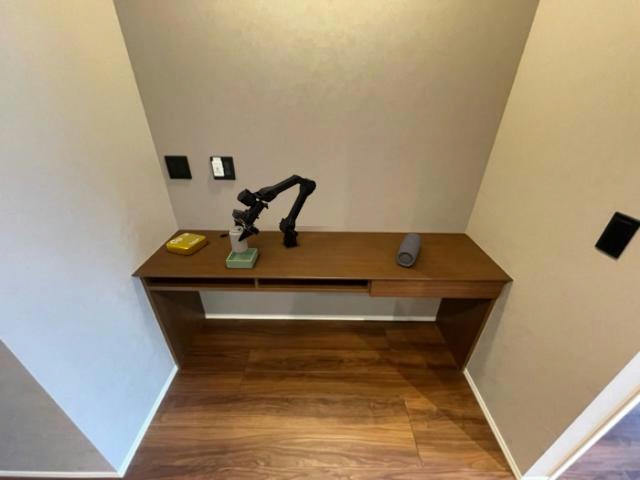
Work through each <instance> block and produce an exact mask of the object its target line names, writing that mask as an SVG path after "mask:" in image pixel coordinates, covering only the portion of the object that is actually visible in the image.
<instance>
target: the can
mask: <svg viewBox="0 0 640 480" xmlns="http://www.w3.org/2000/svg"><path fill="white" fill-rule="evenodd" d="M242 232H243V227H242V226H235V227H234V226H232V227H231V228H229V232H228V234H229V239H230V245H231V251H232V250H233V251H234V252H235V253H243V252H245V251H246V250H247V249H248V248H249V244H248V240H247V238H248V237H247V238H246V239H244V240H242V241H240V242H239V241H238V239H239V237H240V235H241V234H242Z"/></svg>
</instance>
